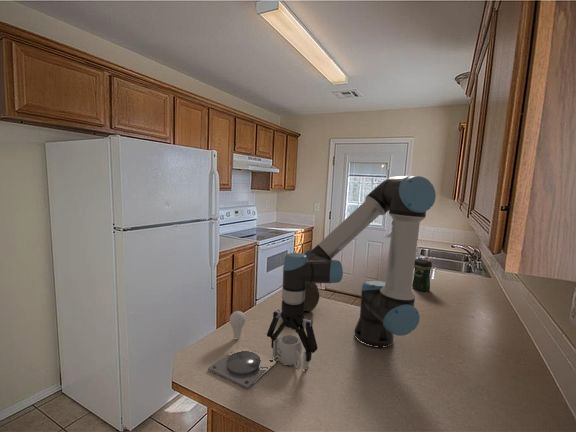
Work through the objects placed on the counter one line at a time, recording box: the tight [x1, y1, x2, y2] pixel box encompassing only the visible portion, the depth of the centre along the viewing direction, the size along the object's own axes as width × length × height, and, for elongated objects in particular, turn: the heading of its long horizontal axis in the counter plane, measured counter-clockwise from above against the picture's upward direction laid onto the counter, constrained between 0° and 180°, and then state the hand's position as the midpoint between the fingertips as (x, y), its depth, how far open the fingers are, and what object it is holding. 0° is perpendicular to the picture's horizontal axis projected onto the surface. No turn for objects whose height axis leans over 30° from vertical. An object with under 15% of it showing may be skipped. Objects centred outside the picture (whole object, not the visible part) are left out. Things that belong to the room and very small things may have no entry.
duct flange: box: [207, 351, 273, 390], centre depth 96 cm, size 16×16×2 cm
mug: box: [277, 334, 303, 370], centre depth 98 cm, size 12×8×8 cm
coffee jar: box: [411, 258, 433, 292], centre depth 179 cm, size 10×8×19 cm
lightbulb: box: [229, 310, 247, 339], centre depth 113 cm, size 6×6×11 cm
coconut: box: [304, 283, 320, 312], centre depth 141 cm, size 14×14×15 cm
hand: (290, 363), depth 99 cm, fingers open, 11 cm apart
